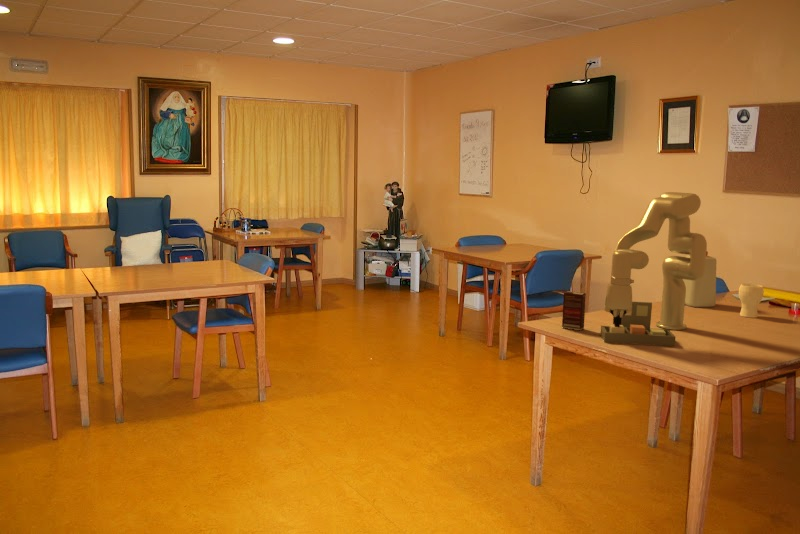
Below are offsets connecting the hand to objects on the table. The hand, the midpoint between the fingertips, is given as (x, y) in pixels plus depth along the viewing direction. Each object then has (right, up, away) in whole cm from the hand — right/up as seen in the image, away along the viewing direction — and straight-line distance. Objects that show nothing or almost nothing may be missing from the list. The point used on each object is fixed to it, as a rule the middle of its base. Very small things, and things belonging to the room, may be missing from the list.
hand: (616, 326), depth 284 cm
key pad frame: (+8, -6, 0) cm, 10 cm away
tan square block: (0, -3, +1) cm, 3 cm away
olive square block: (+16, -5, -1) cm, 17 cm away
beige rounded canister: (+65, +4, +77) cm, 101 cm away
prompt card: (+10, -4, +10) cm, 15 cm away
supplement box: (-14, -3, +18) cm, 23 cm away
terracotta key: (+8, -3, -1) cm, 9 cm away
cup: (+79, 0, +51) cm, 95 cm away
